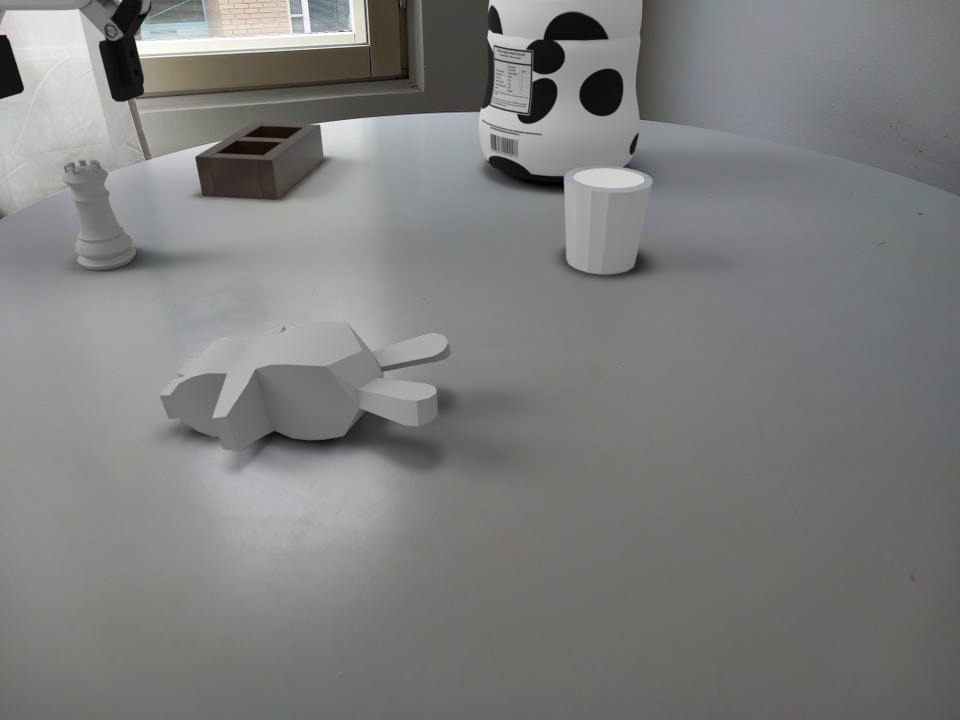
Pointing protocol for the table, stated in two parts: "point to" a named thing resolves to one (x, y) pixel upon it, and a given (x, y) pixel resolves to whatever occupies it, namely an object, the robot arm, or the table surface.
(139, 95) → the robot arm
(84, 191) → the rook chess piece
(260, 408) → the bunny figurine
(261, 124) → the rack
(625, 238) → the shot glass
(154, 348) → the table surface
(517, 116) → the milk container
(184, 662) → the table surface
